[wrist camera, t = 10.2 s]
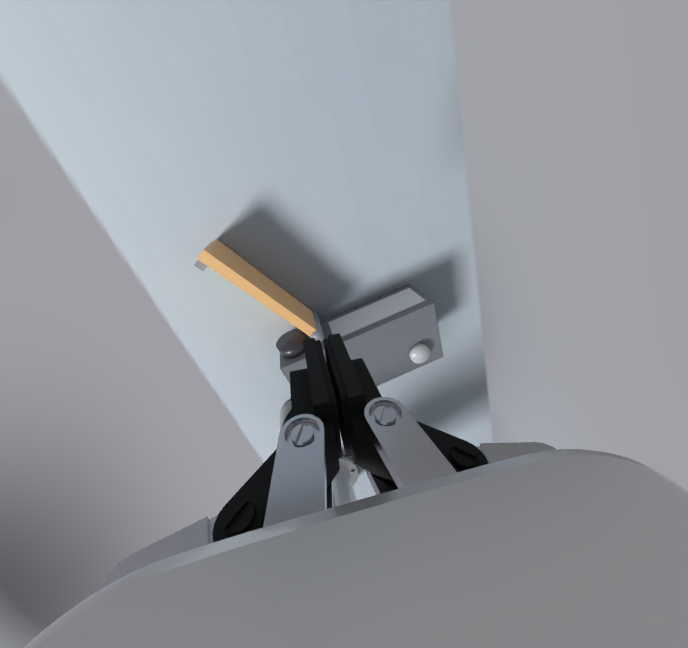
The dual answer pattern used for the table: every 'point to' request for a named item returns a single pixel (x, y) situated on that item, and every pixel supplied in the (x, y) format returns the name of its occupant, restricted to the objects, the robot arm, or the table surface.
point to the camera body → (377, 336)
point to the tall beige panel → (259, 287)
